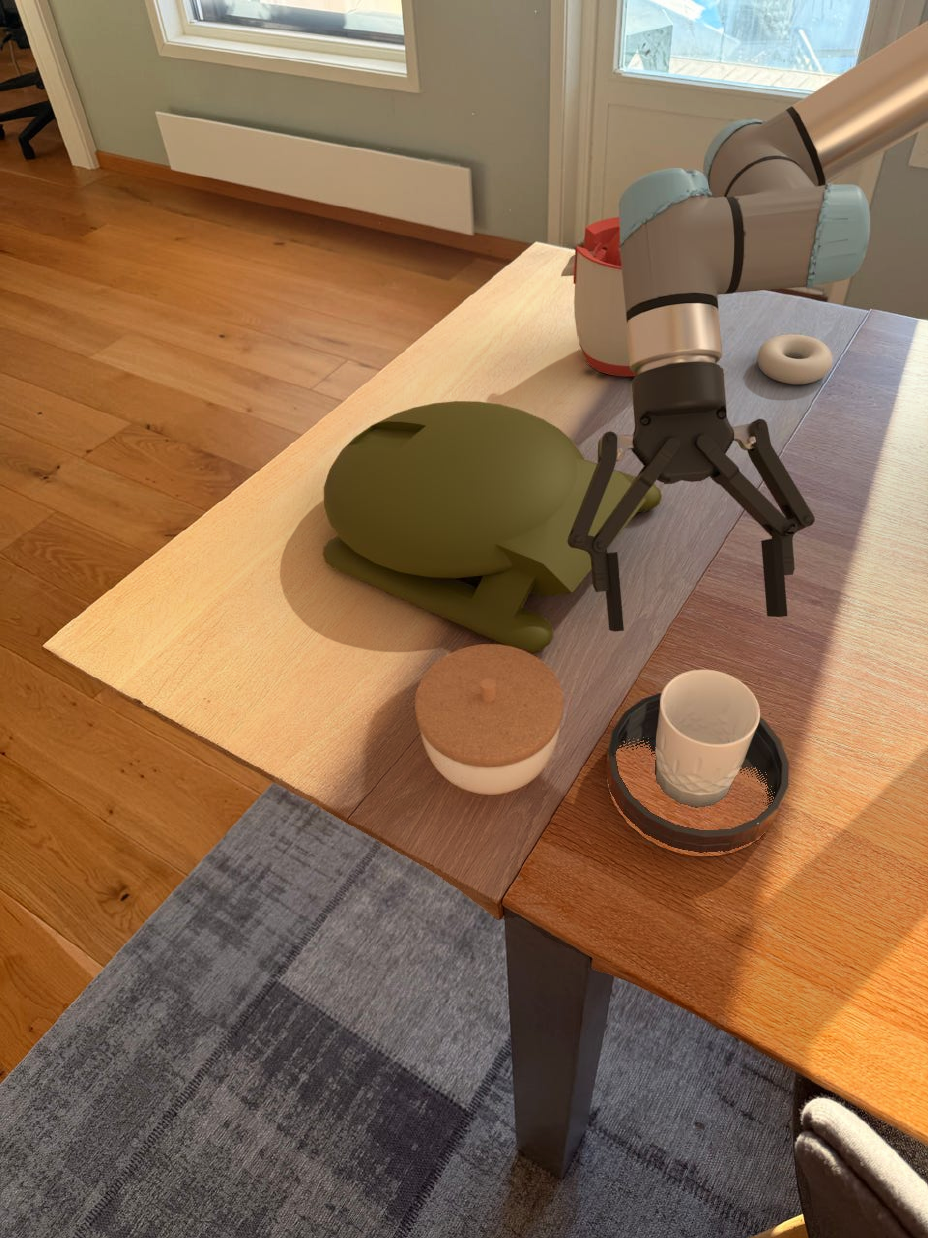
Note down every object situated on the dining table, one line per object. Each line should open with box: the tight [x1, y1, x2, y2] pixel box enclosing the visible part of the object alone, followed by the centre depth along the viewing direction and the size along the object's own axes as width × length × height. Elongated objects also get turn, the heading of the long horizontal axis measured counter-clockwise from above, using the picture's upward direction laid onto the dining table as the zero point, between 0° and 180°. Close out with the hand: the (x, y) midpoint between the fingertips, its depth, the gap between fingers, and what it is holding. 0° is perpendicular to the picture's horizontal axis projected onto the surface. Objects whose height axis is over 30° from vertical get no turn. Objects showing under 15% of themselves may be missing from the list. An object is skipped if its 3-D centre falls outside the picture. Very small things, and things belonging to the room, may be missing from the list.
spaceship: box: [322, 400, 663, 654], centre depth 103 cm, size 35×31×10 cm
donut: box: [756, 333, 834, 385], centre depth 125 cm, size 10×4×10 cm
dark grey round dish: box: [605, 691, 790, 853], centre depth 80 cm, size 15×15×4 cm
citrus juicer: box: [560, 216, 638, 377], centre depth 123 cm, size 16×17×20 cm
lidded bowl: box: [414, 643, 564, 796], centre depth 79 cm, size 13×13×11 cm
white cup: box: [655, 669, 761, 808], centre depth 77 cm, size 8×8×10 cm
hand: (696, 624), depth 76 cm, fingers open, 13 cm apart
